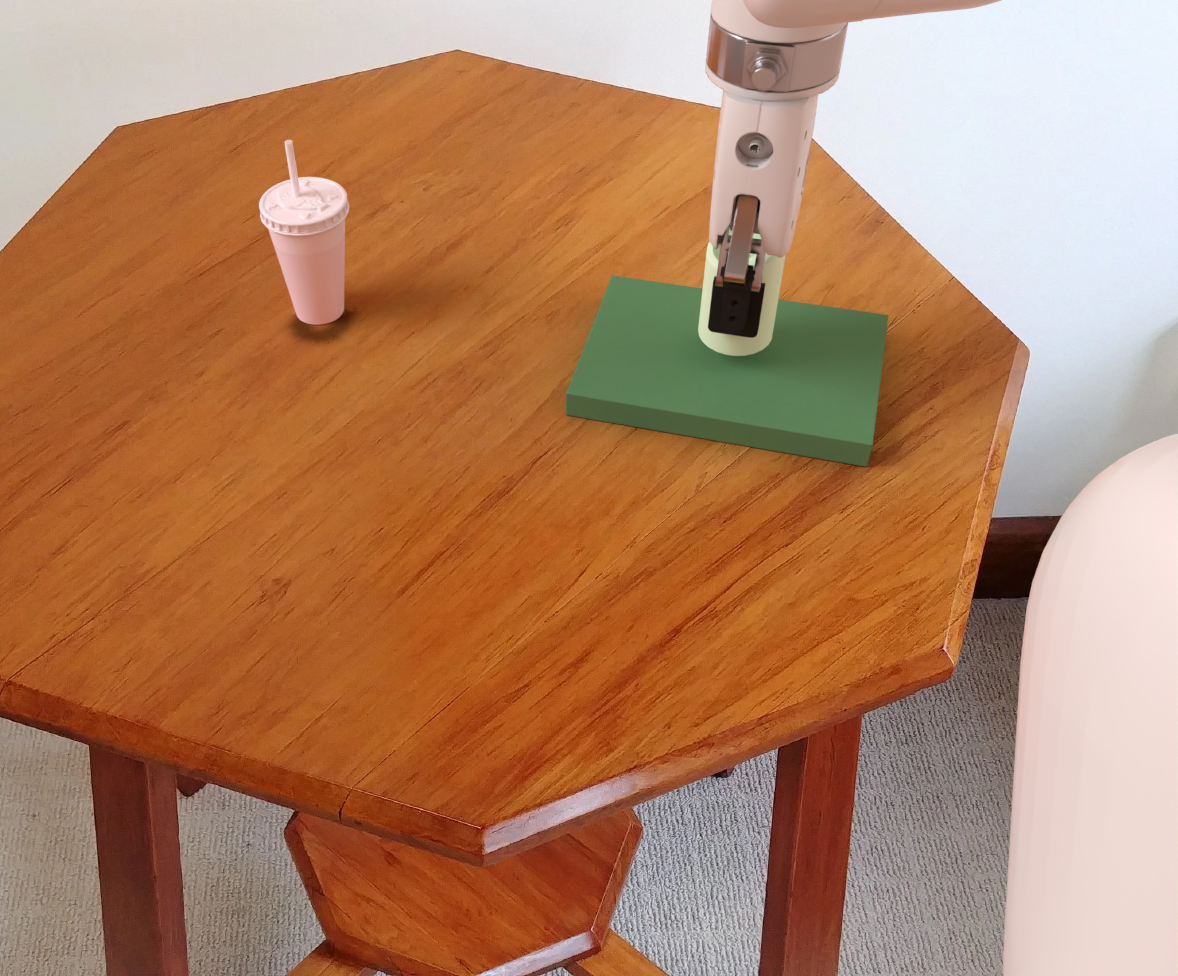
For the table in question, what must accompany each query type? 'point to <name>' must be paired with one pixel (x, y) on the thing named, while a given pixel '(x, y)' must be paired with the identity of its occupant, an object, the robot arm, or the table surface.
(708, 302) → the candle
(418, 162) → the table surface
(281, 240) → the smoothie
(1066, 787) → the robot arm
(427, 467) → the table surface
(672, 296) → the foam
